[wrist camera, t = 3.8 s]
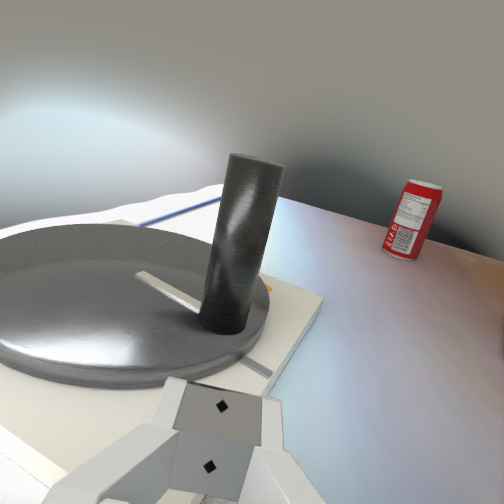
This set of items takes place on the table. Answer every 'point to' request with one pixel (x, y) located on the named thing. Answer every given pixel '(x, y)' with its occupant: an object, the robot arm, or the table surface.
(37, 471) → the dial base
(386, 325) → the table surface
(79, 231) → the dial
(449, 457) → the table surface
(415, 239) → the soda can
